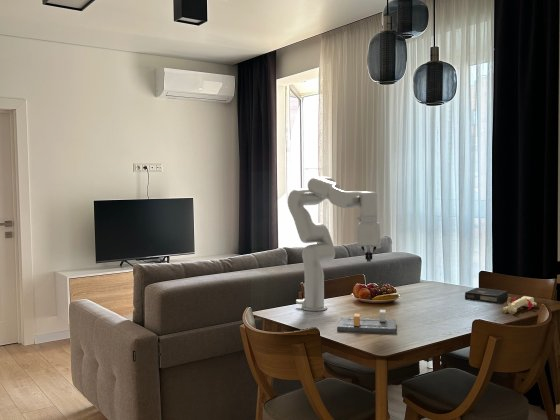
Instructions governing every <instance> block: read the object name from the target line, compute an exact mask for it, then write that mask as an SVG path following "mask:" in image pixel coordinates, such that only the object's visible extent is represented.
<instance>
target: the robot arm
mask: <svg viewBox="0 0 560 420" xmlns="http://www.w3.org/2000/svg"><path fill="white" fill-rule="evenodd" d="M324 200H328V201H329V202H330V203H331V204H332V205H334V206H337V207H339V208H342V209H359V216H356V221H359V222H358V225H357V229H356V230H357V231H356V248H358V249H362V251H363V252H364V254H365V256H364V257H365V260H366V262H372V260H373V253H374V251H376V250H378V249H381V248H382V245H381V244H382V243H381V242H382V241H381V239H382V238H381V228H380V227H381V225H380V222H378V193H377V192H375V191H362V190H352V191H351V190H350V191H349V190H348V191H345V190H342V189H341V187H340V185H339V183H337V182H336V181H335V180H334V179H333V178H332V177H330V176H316V177H315V176H314V177H312V178H311V179H309V180H308V182H307V188H306V187H305V188H295V189H293V190H292V191H290V192H289V194H288V197H287V207H288V210H289V212H290V214H291V216H292V218H293V219H292V220H293V222H294V224H295V227H296V230H297V234H298V236H299V237H298V238H299V240H300V241H301V242H302V243H304V244H309V245H306V246H305V247H304V248H303V250H302V253H301V258H302V263H303V269H304V271H303V272H304V274H303V275H304V298H302V299H296V300H295V304H298V305H301V310H304V311H306V312H307V311H309V312H321V311H326V310H327V309H328V305H327V304H325V274H324V269H323V267H322V265H321V264H322V263H330V262H332V261H333V260H334V259H335V256H336V250H335V249H336V248H335V246H334V243H333V240H332V237H331V234H330V232H329V228H327V226H326V225H325V224H323V223H319V222H317V223H315V222H313V219H312V216H311V214H310V212H309V211H308V209H306V208H305V207H304V206H317V205H320V203H322V202H323V201H324ZM313 243H314V244H313ZM368 247H370V249H369V250H368Z"/></svg>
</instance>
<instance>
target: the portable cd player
mask: <svg viewBox="0 0 560 420" xmlns="http://www.w3.org/2000/svg"><path fill="white" fill-rule="evenodd" d="M508 297H509V291H508V290H502V289H501V290H500V289H492V288H486V287H475V288H472V289H470V290H467V291H464V299H465V300H468V299H470V300H469V301H475V300H476V302H484V303H492V304H493V303H494V304H498V303H500V302H502V301H504V300H506V299H508Z"/></svg>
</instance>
